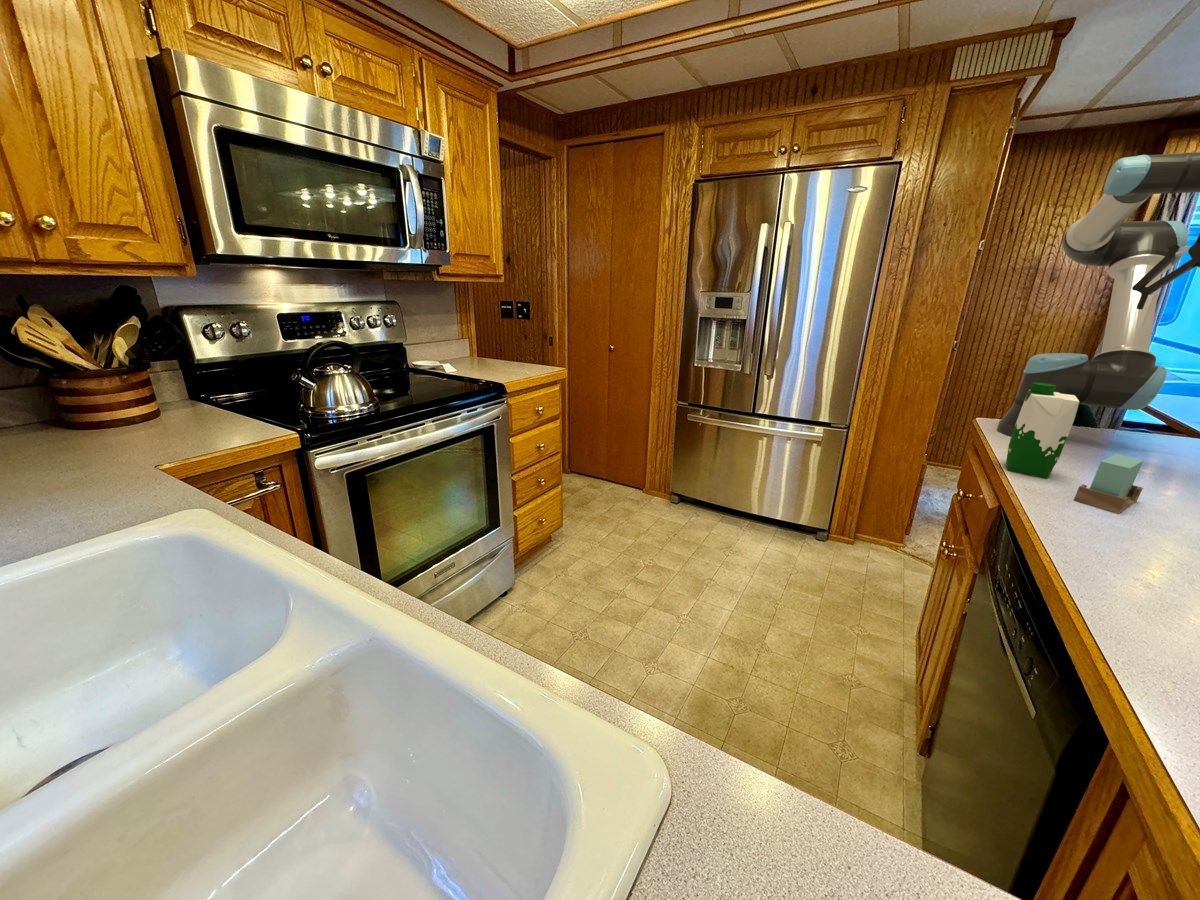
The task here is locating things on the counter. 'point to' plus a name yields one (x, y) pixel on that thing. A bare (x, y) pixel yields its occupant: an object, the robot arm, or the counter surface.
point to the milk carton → (1041, 430)
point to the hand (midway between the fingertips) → (1185, 329)
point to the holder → (1107, 498)
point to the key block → (1116, 475)
